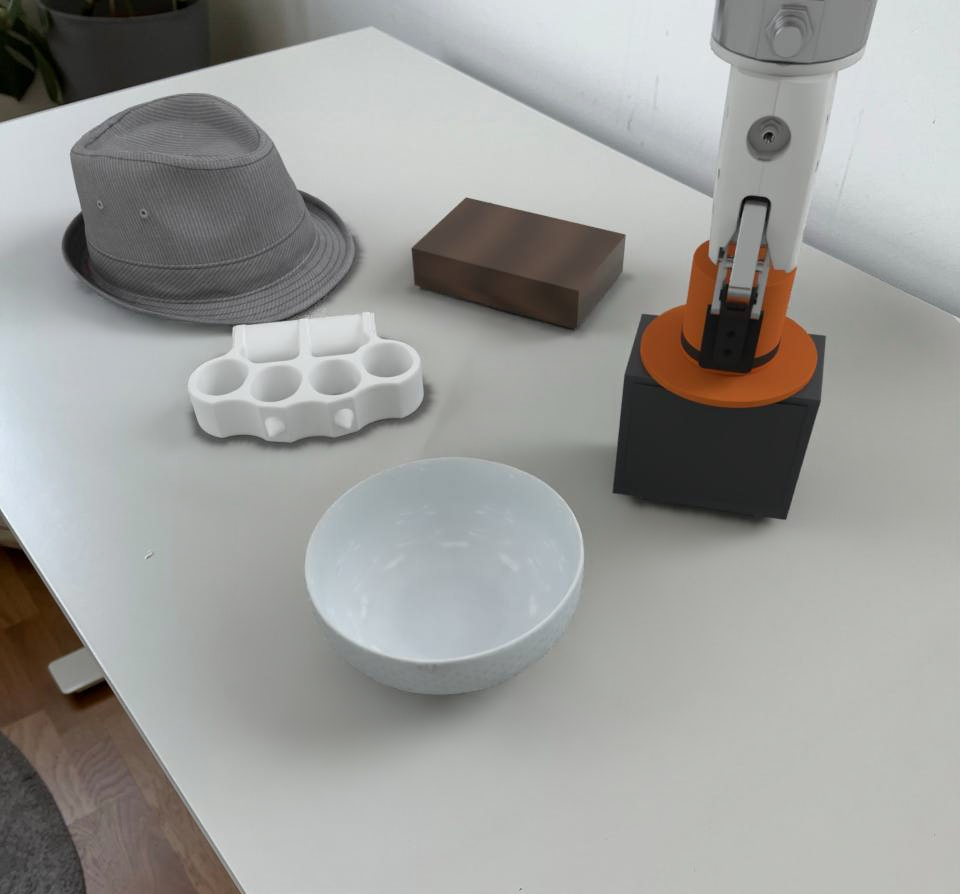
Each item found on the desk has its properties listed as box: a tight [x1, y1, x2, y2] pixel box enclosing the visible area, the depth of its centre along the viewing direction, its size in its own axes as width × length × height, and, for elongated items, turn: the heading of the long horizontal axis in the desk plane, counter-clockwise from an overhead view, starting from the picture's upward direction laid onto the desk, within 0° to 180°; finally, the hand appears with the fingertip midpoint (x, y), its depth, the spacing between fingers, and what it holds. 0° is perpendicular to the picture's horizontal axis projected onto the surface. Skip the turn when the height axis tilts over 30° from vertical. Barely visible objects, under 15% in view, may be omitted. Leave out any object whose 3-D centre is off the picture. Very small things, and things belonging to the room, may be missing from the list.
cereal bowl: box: [303, 456, 585, 696], centre depth 61 cm, size 17×17×7 cm
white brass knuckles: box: [187, 311, 425, 444], centre depth 78 cm, size 3×18×15 cm
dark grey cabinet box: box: [612, 313, 827, 521], centre depth 67 cm, size 7×12×11 cm, turn 75°
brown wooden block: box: [411, 196, 627, 330], centre depth 87 cm, size 16×10×4 cm, turn 62°
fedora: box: [60, 92, 356, 327], centre depth 88 cm, size 24×27×12 cm
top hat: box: [640, 239, 817, 408], centre depth 60 cm, size 11×11×6 cm
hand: (730, 333), depth 62 cm, fingers closed on top hat, 6 cm apart
